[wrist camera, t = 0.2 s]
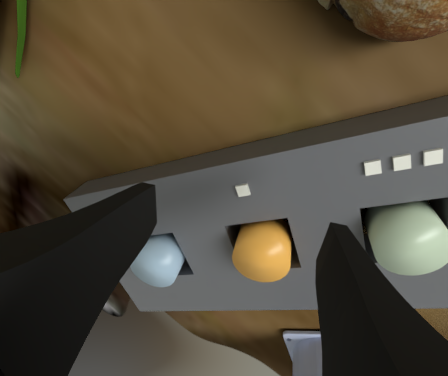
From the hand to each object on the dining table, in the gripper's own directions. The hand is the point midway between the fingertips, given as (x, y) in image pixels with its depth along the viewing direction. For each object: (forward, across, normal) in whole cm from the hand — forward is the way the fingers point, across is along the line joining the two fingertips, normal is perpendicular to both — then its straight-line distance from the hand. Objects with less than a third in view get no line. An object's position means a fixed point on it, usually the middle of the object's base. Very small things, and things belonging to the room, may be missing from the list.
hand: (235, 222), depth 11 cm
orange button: (+8, -2, +7) cm, 11 cm away
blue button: (+8, +7, +11) cm, 15 cm away
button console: (+10, -2, +7) cm, 12 cm away
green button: (+8, -10, +3) cm, 13 cm away
